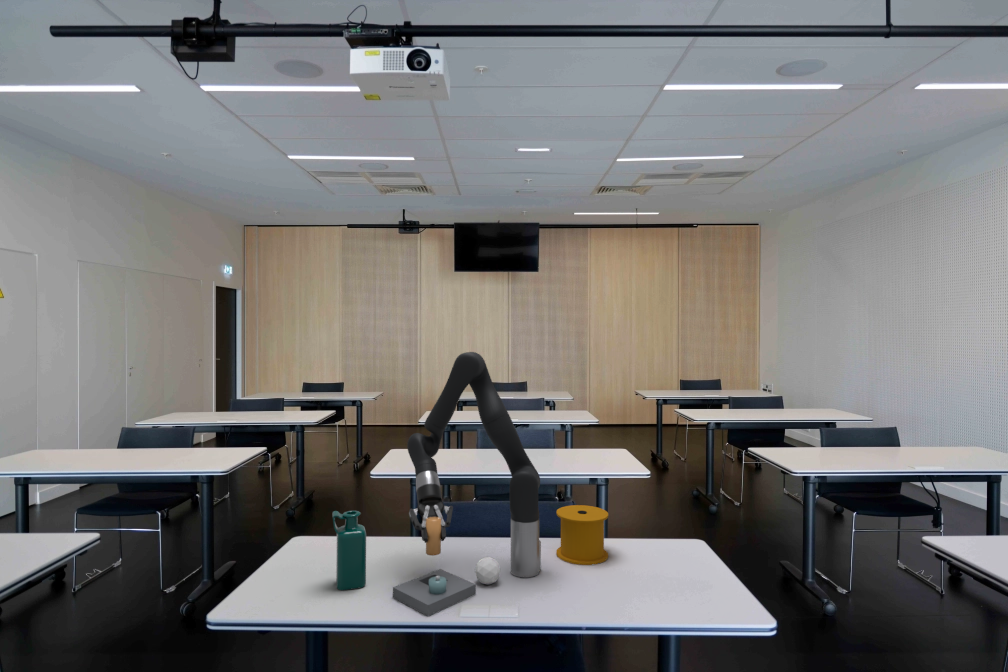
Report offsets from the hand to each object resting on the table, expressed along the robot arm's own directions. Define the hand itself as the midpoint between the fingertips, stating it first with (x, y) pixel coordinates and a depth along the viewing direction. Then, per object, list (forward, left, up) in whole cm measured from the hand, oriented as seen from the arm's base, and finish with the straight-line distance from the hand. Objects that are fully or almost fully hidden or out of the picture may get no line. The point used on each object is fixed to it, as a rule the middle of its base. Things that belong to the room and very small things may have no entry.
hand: (434, 540), depth 163 cm
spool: (-55, +14, -16) cm, 59 cm away
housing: (+1, +1, -16) cm, 16 cm away
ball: (-16, +6, -16) cm, 23 cm away
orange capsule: (-1, -2, -4) cm, 5 cm away
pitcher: (+14, -24, -16) cm, 32 cm away
